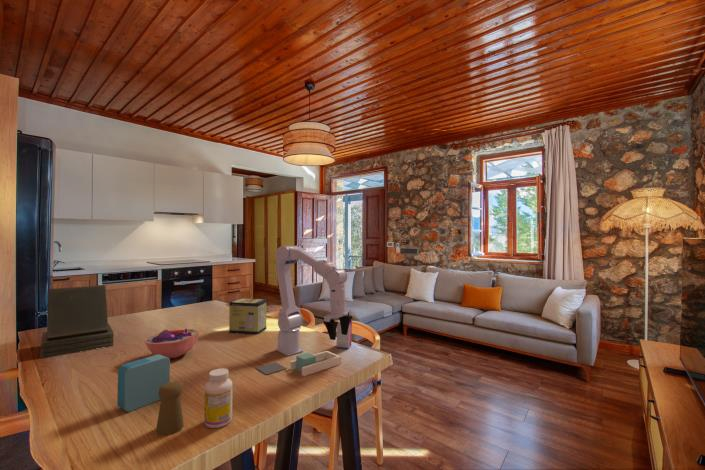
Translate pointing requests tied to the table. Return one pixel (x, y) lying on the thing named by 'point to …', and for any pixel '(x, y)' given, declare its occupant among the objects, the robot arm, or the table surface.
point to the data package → (142, 381)
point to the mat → (270, 368)
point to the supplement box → (344, 337)
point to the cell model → (172, 342)
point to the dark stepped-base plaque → (76, 321)
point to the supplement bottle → (218, 399)
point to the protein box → (247, 316)
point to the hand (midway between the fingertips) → (338, 337)
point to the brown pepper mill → (170, 409)
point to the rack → (319, 363)
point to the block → (304, 360)
